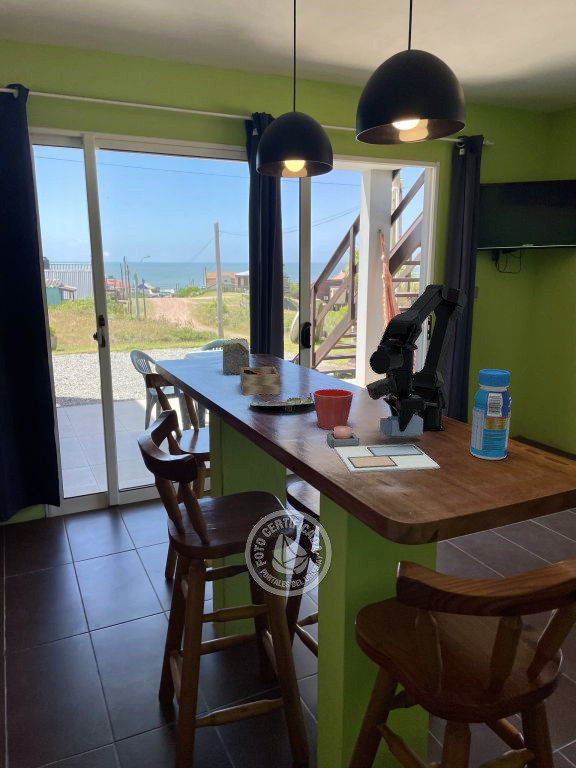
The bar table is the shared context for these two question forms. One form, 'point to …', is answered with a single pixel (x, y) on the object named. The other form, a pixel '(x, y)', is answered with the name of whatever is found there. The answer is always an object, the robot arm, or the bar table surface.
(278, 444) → the bar table surface
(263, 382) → the open wooden box
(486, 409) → the beverage bottle
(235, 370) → the geological specimen
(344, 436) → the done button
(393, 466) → the white sorting board
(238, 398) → the bar table surface
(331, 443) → the button housing
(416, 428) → the blue paint stick
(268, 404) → the city model
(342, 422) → the flower pot
